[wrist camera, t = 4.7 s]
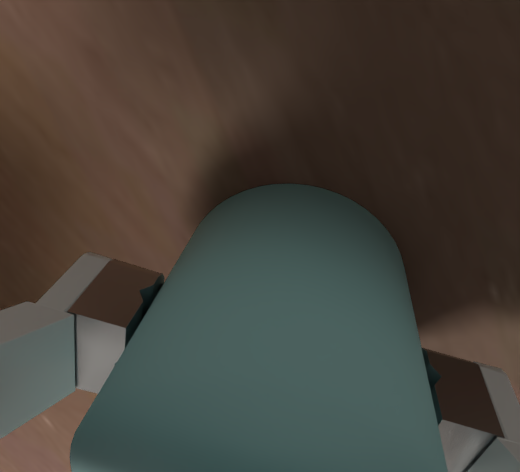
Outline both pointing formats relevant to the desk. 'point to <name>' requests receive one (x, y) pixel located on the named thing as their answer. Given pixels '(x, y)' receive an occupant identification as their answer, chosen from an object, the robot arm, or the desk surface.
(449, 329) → the desk surface
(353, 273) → the teal smooth rounded part
